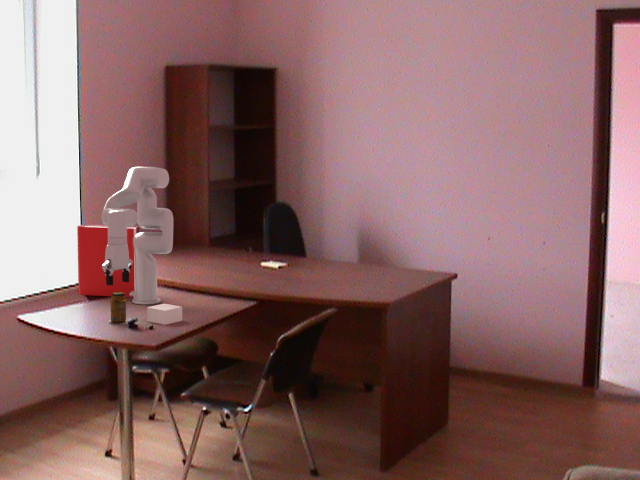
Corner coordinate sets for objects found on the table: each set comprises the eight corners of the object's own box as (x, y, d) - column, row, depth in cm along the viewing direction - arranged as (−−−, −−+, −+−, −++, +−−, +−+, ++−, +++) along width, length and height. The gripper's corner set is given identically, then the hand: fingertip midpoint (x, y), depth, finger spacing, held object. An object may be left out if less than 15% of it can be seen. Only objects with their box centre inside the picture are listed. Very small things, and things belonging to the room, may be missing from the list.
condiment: (125, 319, 377) (124, 290, 375) (130, 323, 369) (129, 294, 368) (107, 321, 374) (106, 292, 372) (112, 325, 366) (111, 295, 364)
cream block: (147, 321, 374) (147, 307, 373) (164, 317, 382) (164, 303, 382) (165, 325, 369) (164, 310, 368) (182, 321, 377) (182, 306, 376)
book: (139, 293, 431) (139, 226, 427) (134, 297, 423) (133, 228, 419) (83, 291, 434) (82, 224, 430) (77, 294, 426) (76, 226, 422)
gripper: (124, 238, 376) (124, 279, 378) (95, 242, 361) (95, 285, 363) (138, 239, 373) (138, 281, 375) (110, 244, 358) (110, 287, 359)
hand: (117, 283), depth 369 cm, fingers open, 9 cm apart
